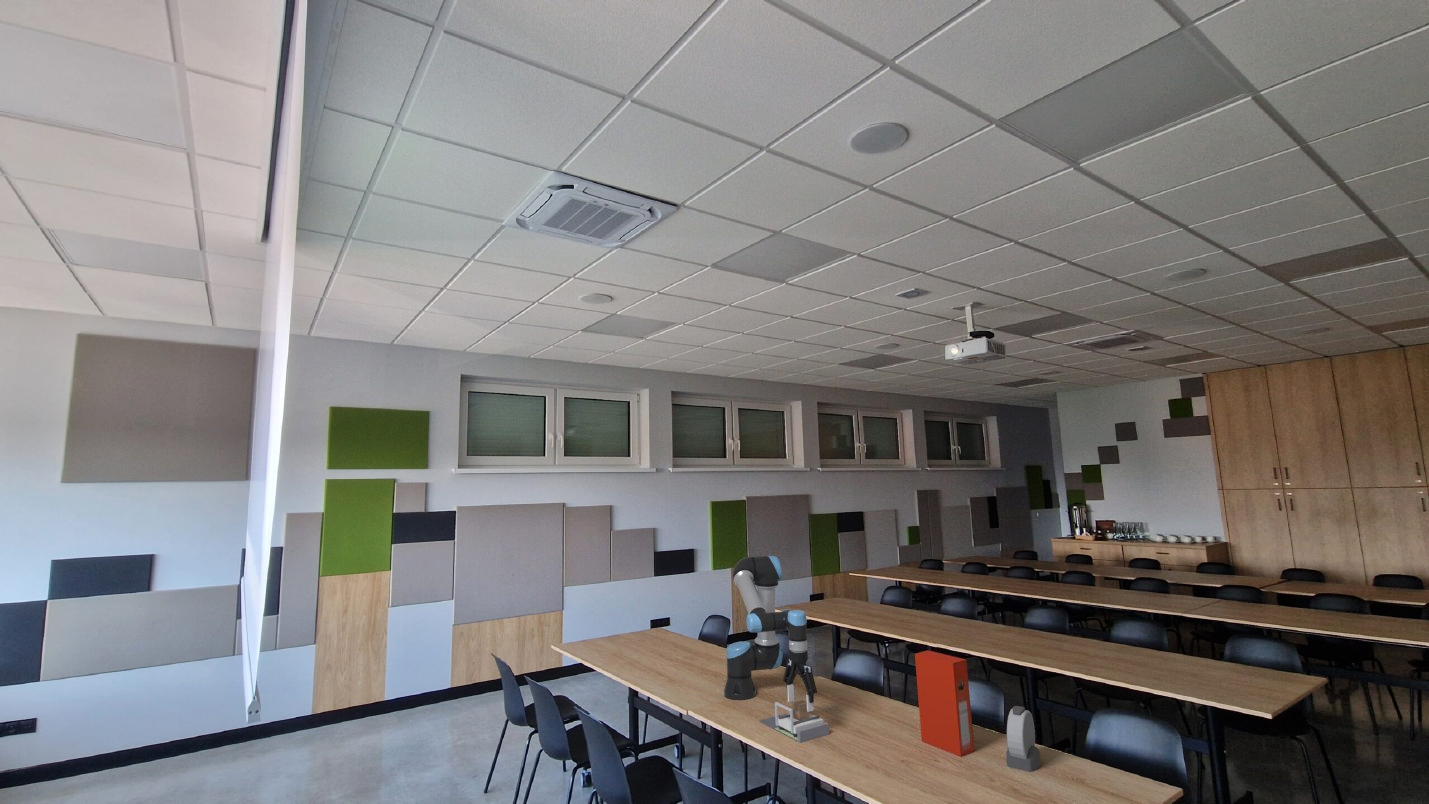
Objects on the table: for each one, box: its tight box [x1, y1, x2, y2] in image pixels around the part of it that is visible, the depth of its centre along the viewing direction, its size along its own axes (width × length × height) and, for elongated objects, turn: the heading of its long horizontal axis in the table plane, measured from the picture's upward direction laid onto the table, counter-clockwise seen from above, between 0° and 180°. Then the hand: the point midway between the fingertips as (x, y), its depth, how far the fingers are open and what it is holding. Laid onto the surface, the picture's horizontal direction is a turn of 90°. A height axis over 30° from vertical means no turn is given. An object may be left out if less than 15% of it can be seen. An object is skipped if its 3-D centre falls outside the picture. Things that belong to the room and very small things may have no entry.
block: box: [790, 698, 810, 721], centre depth 252 cm, size 5×5×6 cm
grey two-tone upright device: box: [1005, 705, 1042, 773], centre depth 217 cm, size 16×10×18 cm, turn 141°
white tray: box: [774, 701, 824, 737], centre depth 251 cm, size 13×15×10 cm
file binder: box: [914, 649, 975, 758], centre depth 234 cm, size 8×17×32 cm, turn 32°
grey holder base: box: [758, 713, 830, 744], centre depth 254 cm, size 28×14×4 cm, turn 31°
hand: (800, 705), depth 253 cm, fingers open, 12 cm apart
